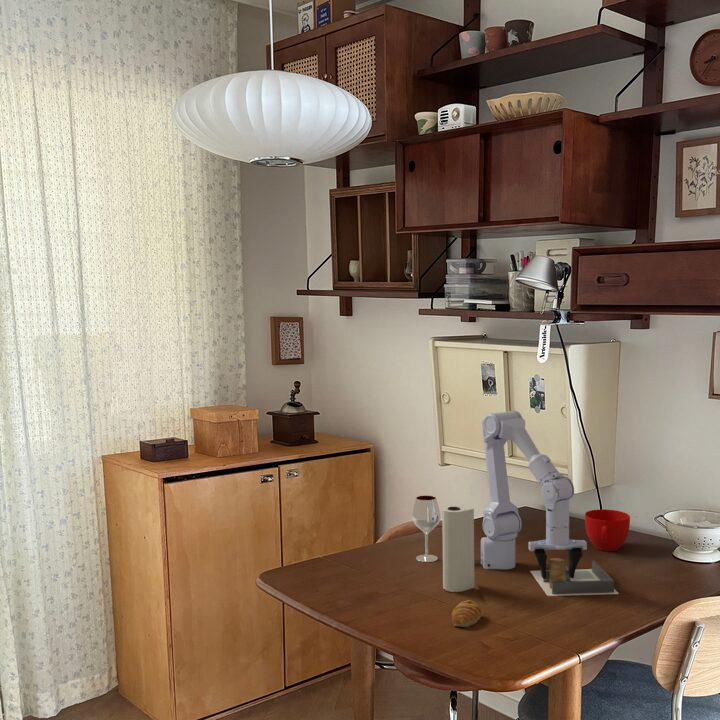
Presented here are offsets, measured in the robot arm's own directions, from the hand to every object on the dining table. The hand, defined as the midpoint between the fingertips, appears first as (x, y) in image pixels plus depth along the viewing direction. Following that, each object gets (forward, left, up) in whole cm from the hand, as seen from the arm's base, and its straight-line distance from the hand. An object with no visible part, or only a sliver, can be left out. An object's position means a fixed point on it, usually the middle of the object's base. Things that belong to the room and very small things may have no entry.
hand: (557, 577), depth 208 cm
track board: (+5, +4, -4) cm, 7 cm away
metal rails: (+5, +3, -3) cm, 7 cm away
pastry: (-26, -16, -4) cm, 31 cm away
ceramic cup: (+23, +33, -4) cm, 40 cm away
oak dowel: (0, 0, -3) cm, 3 cm away
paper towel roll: (-26, +4, -4) cm, 26 cm away
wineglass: (-31, +29, -4) cm, 42 cm away
